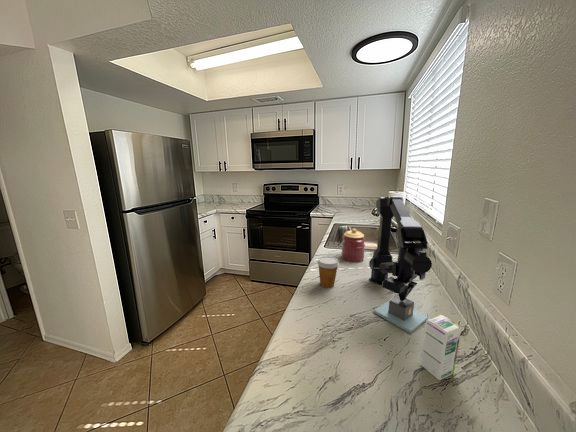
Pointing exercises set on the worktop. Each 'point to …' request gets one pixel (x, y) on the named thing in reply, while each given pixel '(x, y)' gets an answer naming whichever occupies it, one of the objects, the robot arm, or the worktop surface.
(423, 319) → the plate
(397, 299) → the grey block
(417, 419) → the worktop surface
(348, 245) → the canister
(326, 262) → the disposable coffee cup
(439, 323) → the syrup box
